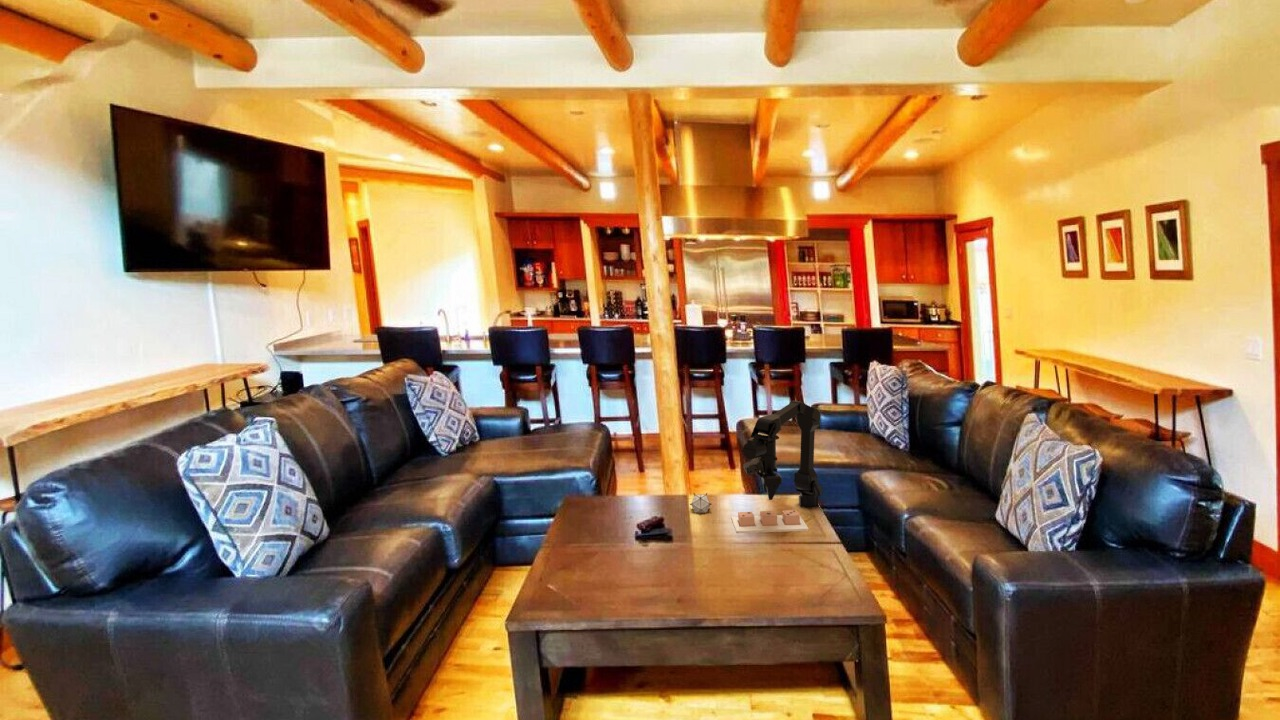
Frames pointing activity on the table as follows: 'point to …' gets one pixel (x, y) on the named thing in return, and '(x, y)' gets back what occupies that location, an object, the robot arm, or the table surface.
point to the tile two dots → (746, 519)
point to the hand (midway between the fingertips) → (768, 495)
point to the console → (760, 528)
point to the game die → (700, 503)
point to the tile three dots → (791, 517)
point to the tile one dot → (768, 518)
